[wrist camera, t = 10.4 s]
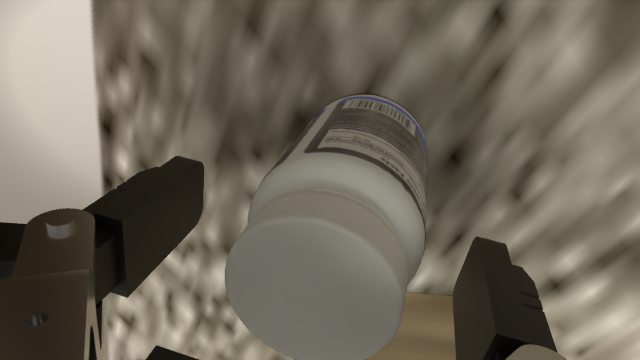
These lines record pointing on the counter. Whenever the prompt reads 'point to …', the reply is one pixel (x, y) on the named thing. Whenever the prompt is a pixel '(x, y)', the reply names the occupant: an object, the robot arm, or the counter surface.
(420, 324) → the maple block
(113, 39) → the counter surface
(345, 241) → the pill bottle
